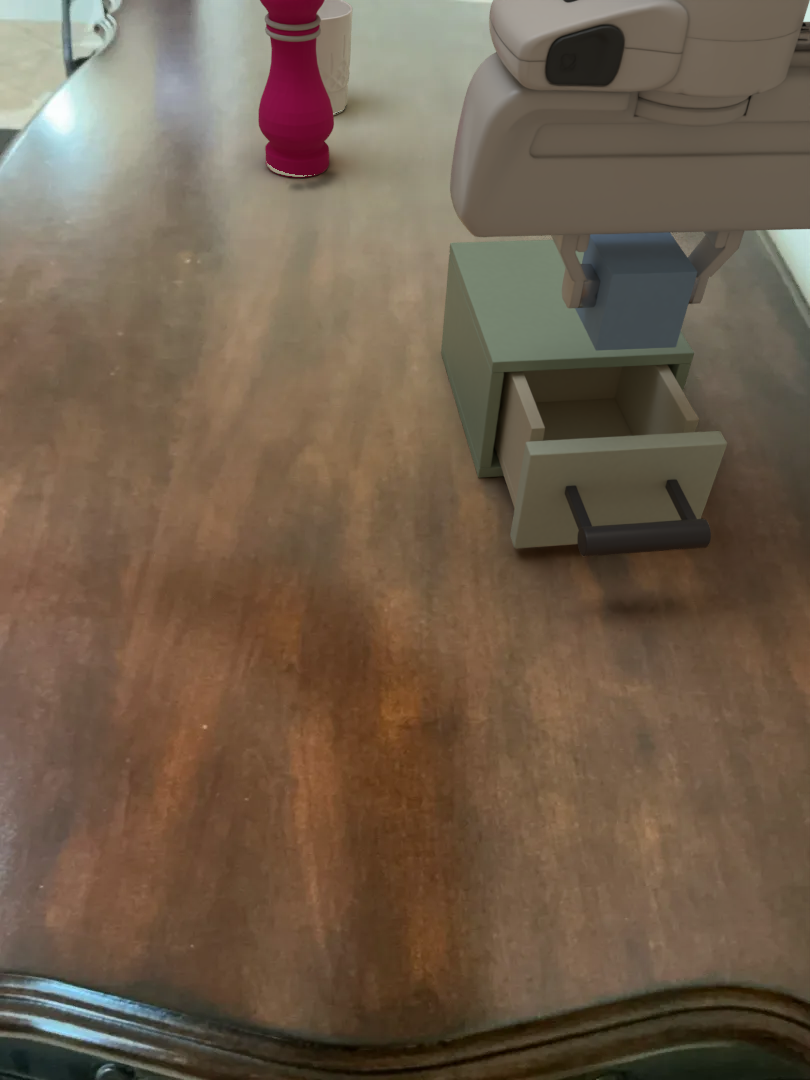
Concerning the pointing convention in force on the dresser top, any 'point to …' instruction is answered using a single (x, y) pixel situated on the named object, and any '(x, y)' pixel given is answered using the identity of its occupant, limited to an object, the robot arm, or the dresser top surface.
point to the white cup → (335, 50)
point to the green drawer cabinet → (518, 332)
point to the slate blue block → (637, 291)
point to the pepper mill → (295, 91)
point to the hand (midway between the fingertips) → (629, 300)
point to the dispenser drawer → (605, 460)
